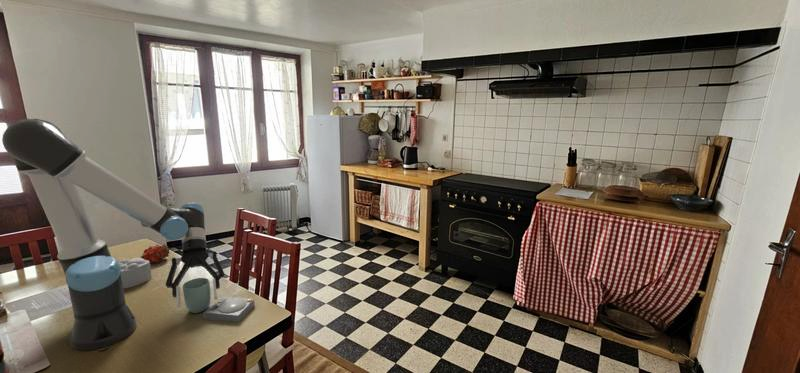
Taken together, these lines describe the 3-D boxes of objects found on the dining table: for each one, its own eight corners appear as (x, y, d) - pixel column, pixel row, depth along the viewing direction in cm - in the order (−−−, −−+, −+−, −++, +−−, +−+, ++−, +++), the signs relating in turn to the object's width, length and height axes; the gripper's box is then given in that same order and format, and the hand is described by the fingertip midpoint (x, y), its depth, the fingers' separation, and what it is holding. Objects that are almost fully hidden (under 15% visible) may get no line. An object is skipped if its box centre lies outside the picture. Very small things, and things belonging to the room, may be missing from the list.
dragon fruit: (173, 260, 158) (144, 273, 148) (164, 247, 160) (134, 259, 150) (174, 250, 153) (144, 262, 143) (164, 237, 155) (134, 248, 145)
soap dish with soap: (238, 322, 110) (238, 314, 110) (204, 319, 111) (203, 311, 111) (254, 305, 120) (254, 298, 119) (222, 302, 121) (222, 295, 121)
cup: (193, 318, 112) (190, 291, 109) (181, 311, 116) (178, 284, 113) (216, 307, 118) (213, 281, 116) (204, 301, 122) (201, 275, 120)
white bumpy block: (155, 278, 138) (152, 258, 136) (117, 292, 126) (113, 271, 125) (141, 272, 142) (138, 253, 141) (103, 285, 131) (100, 265, 129)
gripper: (228, 241, 132) (234, 297, 122) (158, 252, 121) (158, 313, 111) (228, 233, 126) (234, 290, 116) (154, 243, 115) (154, 307, 105)
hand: (197, 301), depth 113 cm, fingers open, 10 cm apart
